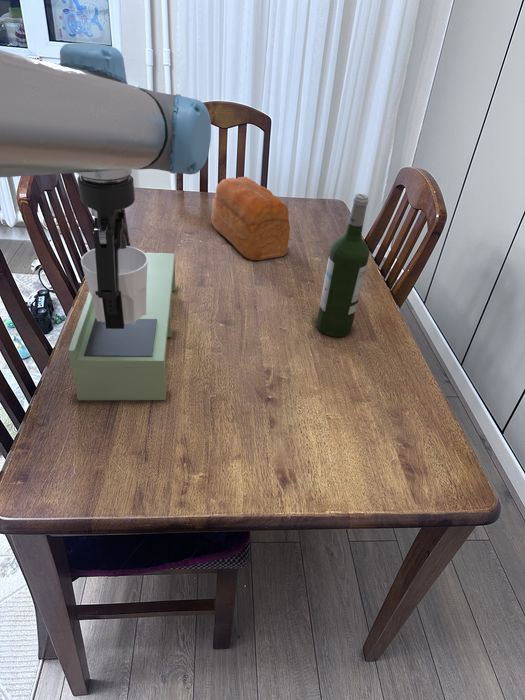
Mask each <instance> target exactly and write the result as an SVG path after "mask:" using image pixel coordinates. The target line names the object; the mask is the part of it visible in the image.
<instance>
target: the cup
mask: <svg viewBox="0 0 525 700" xmlns="http://www.w3.org/2000/svg"><path fill="white" fill-rule="evenodd" d="M145 253H146V252H144V251H143V250H141V249H139V248H137V247H134V246H131V245H130V246H126V248H125V249H119V250H118V266H119V274H118V277H119V291H121V299H122V308H123V318H124V324H135V322H136V320H138V319H139V318H140V317H141V316H144V315H146V288H147V267H148V257H147V255H146V254H145ZM80 264H81V267H82V268H81V269H82V271H83V275H84V278H85V281H86V285H87V289H88V290H89V291H90V294H91V296H92V300H93V305H94V309H95V313H96V318H97V321H102V322H105V316H104V308H103V301H102V298H99V297H98V295H96V293H95V291H98V285H97V271H96V256H95V248H92V249H90V250H88V251H87V252H85V253H84V254H83V255H82V256H81V258H80ZM89 291H88V292H89Z"/></svg>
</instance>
